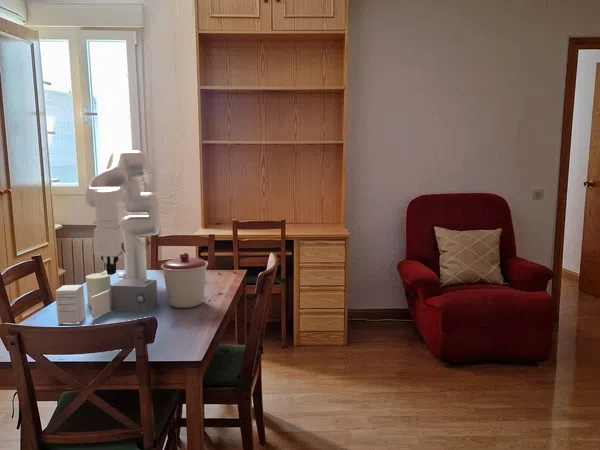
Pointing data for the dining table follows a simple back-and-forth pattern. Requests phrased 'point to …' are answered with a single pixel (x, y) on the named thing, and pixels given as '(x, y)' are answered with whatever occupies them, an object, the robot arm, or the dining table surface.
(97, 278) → the can
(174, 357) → the dining table surface
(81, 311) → the supplement box
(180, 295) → the canister
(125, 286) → the block
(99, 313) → the side door
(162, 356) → the dining table surface
